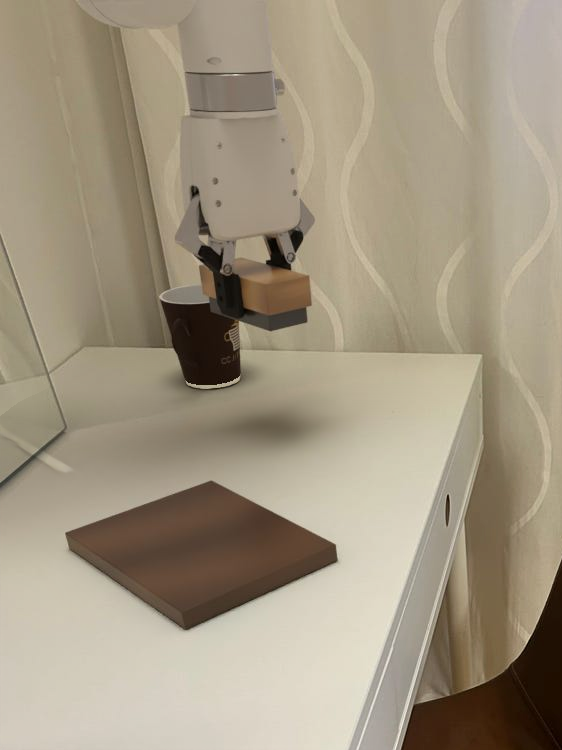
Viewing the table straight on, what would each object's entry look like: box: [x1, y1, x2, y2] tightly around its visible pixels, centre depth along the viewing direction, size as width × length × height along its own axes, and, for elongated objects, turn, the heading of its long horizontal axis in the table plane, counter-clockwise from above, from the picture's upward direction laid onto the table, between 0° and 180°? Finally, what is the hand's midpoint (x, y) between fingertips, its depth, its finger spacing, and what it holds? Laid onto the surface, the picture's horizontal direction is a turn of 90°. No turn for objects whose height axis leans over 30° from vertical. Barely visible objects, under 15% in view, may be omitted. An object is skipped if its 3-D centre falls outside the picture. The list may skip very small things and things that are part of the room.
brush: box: [198, 257, 313, 332], centre depth 93 cm, size 11×5×4 cm, turn 46°
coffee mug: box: [158, 283, 242, 385], centre depth 111 cm, size 12×9×10 cm
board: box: [64, 480, 338, 630], centre depth 79 cm, size 18×14×2 cm
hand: (257, 308), depth 94 cm, fingers closed on brush, 5 cm apart
